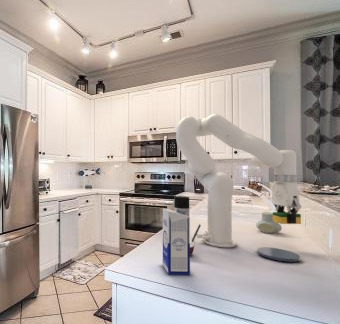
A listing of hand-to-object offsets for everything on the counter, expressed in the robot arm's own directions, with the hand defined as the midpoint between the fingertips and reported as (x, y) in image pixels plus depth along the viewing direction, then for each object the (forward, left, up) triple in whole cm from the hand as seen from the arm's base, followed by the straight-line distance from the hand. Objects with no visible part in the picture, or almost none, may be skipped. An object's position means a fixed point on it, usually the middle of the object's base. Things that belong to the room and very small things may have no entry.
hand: (286, 221), depth 106 cm
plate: (-12, -12, -11) cm, 20 cm away
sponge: (0, 0, -1) cm, 1 cm away
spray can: (-41, +9, -11) cm, 44 cm away
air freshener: (+10, +25, -11) cm, 29 cm away
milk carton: (-55, -26, -11) cm, 62 cm away
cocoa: (-46, -11, -11) cm, 49 cm away
